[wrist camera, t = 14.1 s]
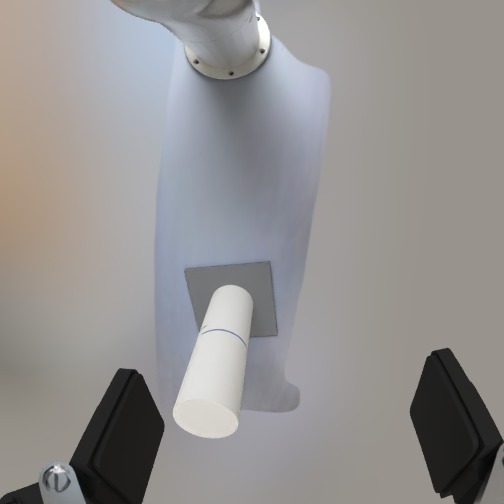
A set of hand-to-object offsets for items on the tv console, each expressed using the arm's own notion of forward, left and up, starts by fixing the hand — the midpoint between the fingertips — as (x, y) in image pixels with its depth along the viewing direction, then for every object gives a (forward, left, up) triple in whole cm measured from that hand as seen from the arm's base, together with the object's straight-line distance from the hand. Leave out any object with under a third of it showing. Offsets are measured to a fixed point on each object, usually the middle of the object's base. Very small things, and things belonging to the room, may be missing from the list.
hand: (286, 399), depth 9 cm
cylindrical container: (+19, -9, -39) cm, 45 cm away
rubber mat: (+19, -9, -40) cm, 45 cm away
